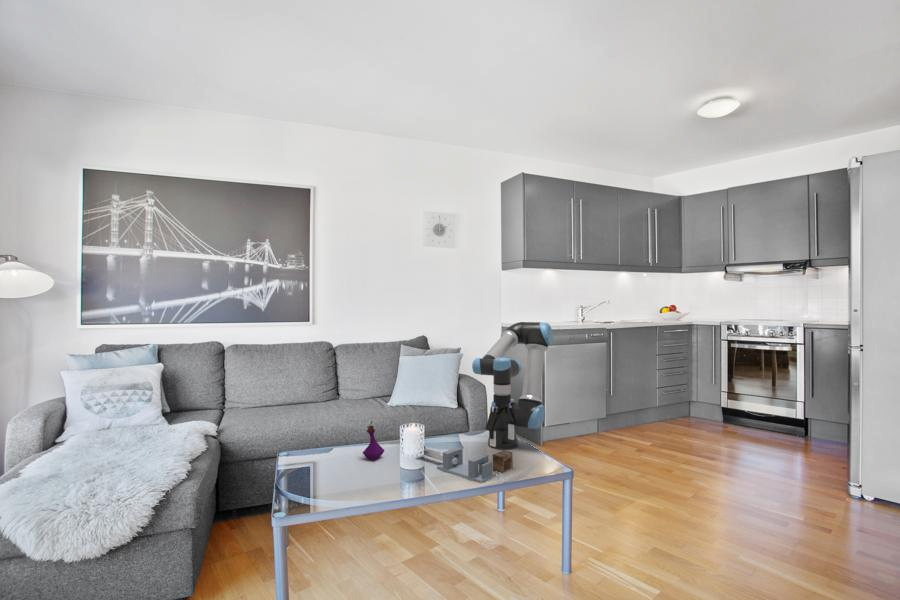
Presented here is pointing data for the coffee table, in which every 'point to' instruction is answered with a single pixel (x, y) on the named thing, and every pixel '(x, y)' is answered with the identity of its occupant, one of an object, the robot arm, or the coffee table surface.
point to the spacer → (502, 461)
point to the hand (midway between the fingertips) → (502, 442)
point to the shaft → (438, 455)
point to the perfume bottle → (373, 445)
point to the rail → (467, 466)
